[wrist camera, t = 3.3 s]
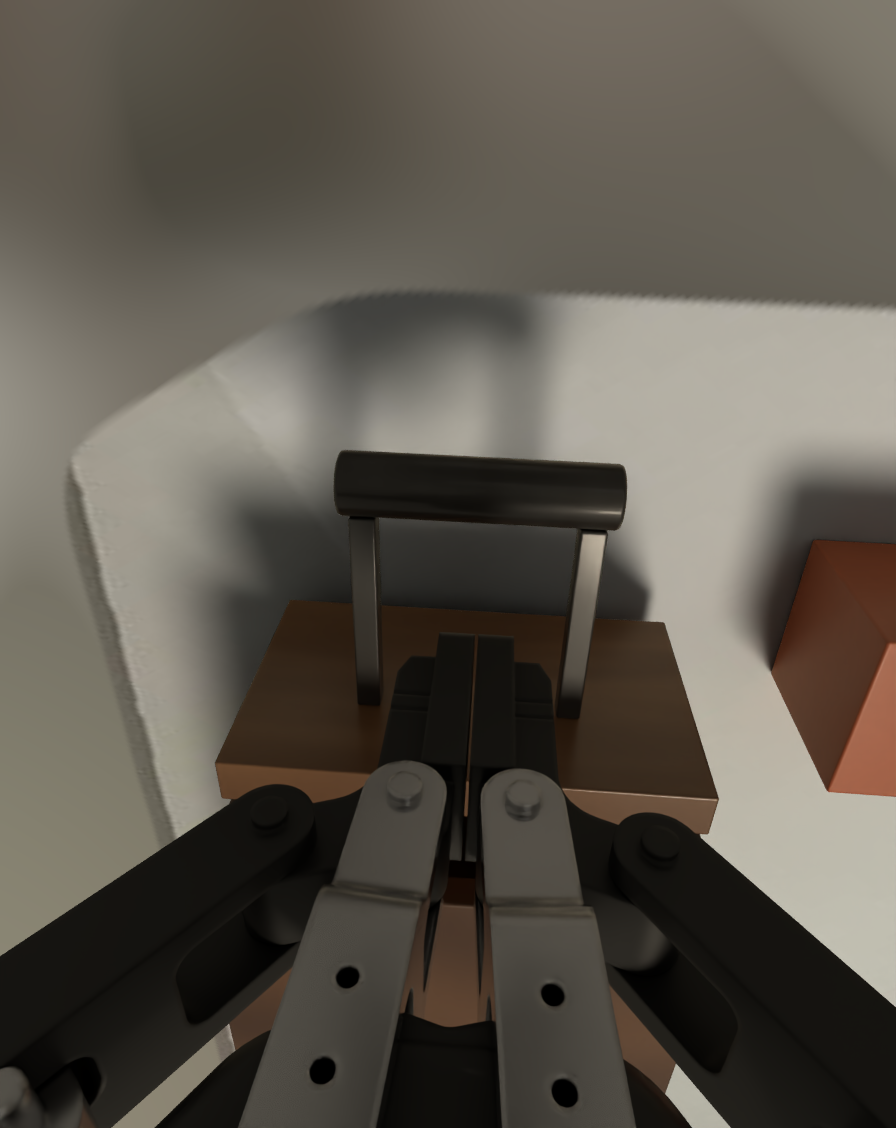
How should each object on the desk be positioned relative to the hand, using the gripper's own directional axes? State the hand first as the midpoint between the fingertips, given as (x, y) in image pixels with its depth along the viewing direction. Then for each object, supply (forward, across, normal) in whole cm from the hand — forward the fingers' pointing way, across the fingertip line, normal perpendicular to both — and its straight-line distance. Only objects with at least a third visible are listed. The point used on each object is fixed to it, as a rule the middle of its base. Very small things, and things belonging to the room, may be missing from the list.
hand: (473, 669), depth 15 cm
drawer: (+7, 0, +7) cm, 10 cm away
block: (+8, -12, +3) cm, 15 cm away
